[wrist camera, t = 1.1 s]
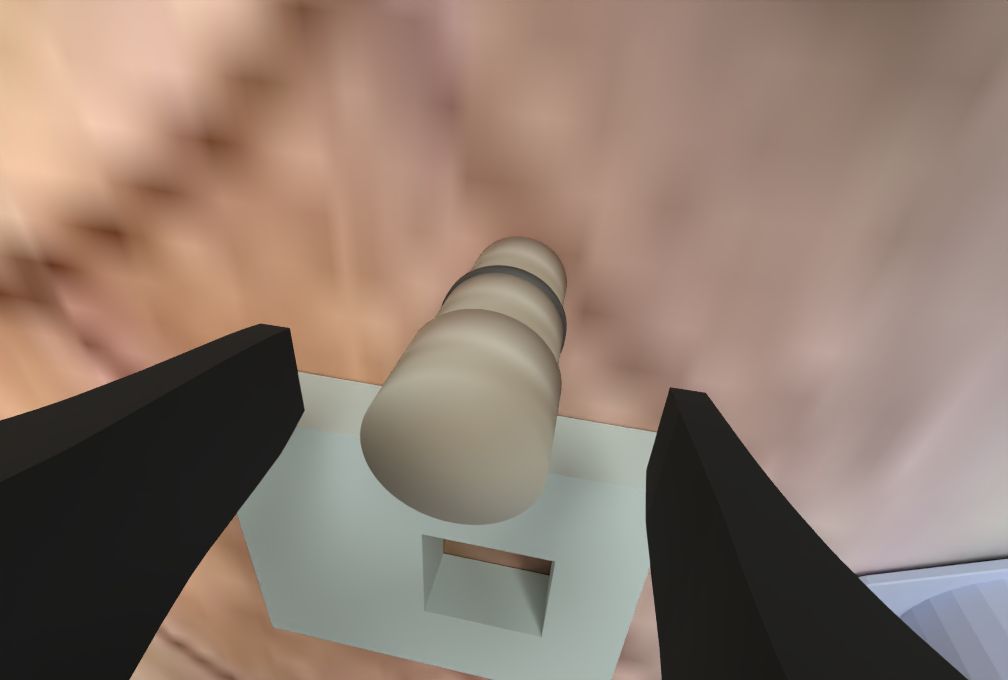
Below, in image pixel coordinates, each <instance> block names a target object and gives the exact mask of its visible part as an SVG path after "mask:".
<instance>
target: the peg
mask: <svg viewBox="0 0 1008 680" xmlns="http://www.w3.org/2000/svg"><path fill="white" fill-rule="evenodd" d="M566 287H567V279H566V273H565V269H564V267H563V264H562V262H561V261H560V259H559V258H558V256H557V255H556V254H555V253H554V252H553V251H552V250H551V249H550V248H549V247H547V246H546V245H544V244H543V243H541V242H539V241H537V240H534V239H531V238H527V237H508V238H504V239H501V240H498V241H496V242H494V243H493V244H491V245H490V246H488V247H487V248H486V249H485V250H484V251H483V253H482V254H481V255H480V257H479V259H478V260H477V262H476V264H475V265H474V267H473V269H472V270H471V272H469V273H467V274H465V275H464V276H463V277H461V278H460V279H459V280H458V281H457V282H456V283H455V284H454V285H453V286H452V288H451V289H450V291H449V292H448V294H447V296H446V297H445V299H444V301H443V304H442V307H441V309H440V311H439V312H438V314H437V316H436V317H435V318H434V319H432V320H431V321H429V322H428V323H426V324H425V325H424V326H423V327H422V328H421V329H420V330H419V331H418V333H417V334H416V335H415V337H414V338H413V340H412V341H411V343H410V344H409V346H408V347H407V349H406V351H405V352H404V354H403V355H402V357H401V358H400V360H399V361H398V363H397V364H396V366H395V368H394V369H393V371H392V372H391V374H390V375H389V377H388V378H387V380H386V381H385V383H384V385H383V386H382V388H381V389H380V391H379V392H378V394H377V395H376V397H375V398H374V400H373V401H372V403H371V405H370V406H369V408H368V409H367V411H366V413H365V415H364V417H363V420H362V424H361V430H360V443H361V448H362V453H363V455H364V458H365V461H366V463H367V465H368V466H369V468H370V470H371V472H372V473H373V474H374V476H375V477H376V479H377V480H378V481H379V482H380V483H381V484H382V486H383V487H384V488H385V489H386V490H388V491H389V492H390V493H391V494H392V495H393V496H394V497H396V498H397V499H398V500H400V501H401V502H403V503H404V504H406V505H407V506H409V507H411V508H413V509H414V510H416V511H418V512H420V513H423V514H425V515H427V516H430V517H433V518H436V519H439V520H442V521H447V522H451V523H457V524H464V525H487V524H493V523H498V522H502V521H506V520H509V519H511V518H514V517H516V516H518V515H520V514H521V513H523V512H525V511H526V510H527V509H529V508H530V507H531V506H532V505H533V504H534V503H535V502H536V501H537V500H538V498H539V497H540V495H541V494H542V492H543V490H544V487H545V485H546V481H547V476H548V470H549V464H550V458H551V452H552V445H553V439H554V433H555V426H556V420H557V414H558V408H559V401H560V395H561V384H562V381H561V373H560V369H559V366H558V363H559V357H560V353H561V351H562V349H563V346H564V341H565V336H566V326H567V324H566V316H565V312H564V309H563V302H564V297H565V292H566Z"/></svg>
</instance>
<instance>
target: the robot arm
mask: <svg viewBox="0 0 1008 680" xmlns="http://www.w3.org/2000/svg"><path fill="white" fill-rule="evenodd" d="M304 411H305V408H304V403H303V397H302V392H301V387H300V381H299V376H298V370H297V365H296V360H295V354H294V349H293V343H292V338H291V332H290V328H285V327H279V326H273V325H266V324H258V325H255V326H252V327H248V328H245V329H243V330H240V331H237V332H235V333H232V334H229V335H227V336H224V337H222V338H219V339H217V340H214V341H212V342H210V343H207V344H205V345H202V346H200V347H197V348H195V349H193V350H190V351H188V352H185V353H183V354H181V355H178V356H176V357H173V358H171V359H169V360H166V361H164V362H161V363H159V364H156V365H154V366H152V367H149V368H147V369H144V370H142V371H139V372H137V373H134V374H131V375H129V376H126V377H124V378H121V379H118V380H116V381H113V382H111V383H108V384H105V385H103V386H100V387H98V388H95V389H92V390H90V391H87V392H84V393H82V394H79V395H77V396H74V397H71V398H68V399H65V400H63V401H60V402H57V403H54V404H51V405H48V406H45V407H42V408H39V409H36V410H33V411H30V412H27V413H23V414H20V415H17V416H14V417H11V418H7V419H4V420H1V421H0V680H129V679H130V678H131V676H132V674H133V672H134V671H135V669H136V667H137V665H138V664H139V662H140V660H141V659H142V657H143V655H144V653H145V652H146V650H147V648H148V646H149V645H150V643H151V641H152V639H153V638H154V636H155V634H156V632H157V631H158V629H159V627H160V625H161V624H162V622H163V621H164V619H165V617H166V616H167V614H168V612H169V611H170V609H171V608H172V606H173V604H174V603H175V601H176V599H177V598H178V596H179V595H180V593H181V591H182V590H183V588H184V586H185V585H186V583H187V581H188V580H189V578H190V577H191V575H192V573H193V572H194V571H195V569H196V568H197V566H198V565H199V563H200V562H201V561H202V559H203V558H204V556H205V555H206V553H207V552H208V551H209V549H210V548H211V547H212V545H213V544H214V543H215V541H216V540H217V539H218V537H219V536H220V535H221V533H222V532H223V531H224V529H225V528H226V527H227V525H228V524H229V523H230V521H231V520H232V519H233V517H234V516H235V515H236V513H237V512H238V511H239V510H240V508H241V507H242V506H243V504H244V503H245V502H246V500H247V499H248V498H249V496H250V495H251V494H252V492H253V491H254V490H255V488H256V487H257V486H258V484H259V483H260V482H261V480H262V479H263V478H264V476H265V475H266V474H267V472H268V471H269V470H270V468H271V467H272V465H273V464H274V463H275V461H276V460H277V459H278V457H279V456H280V454H281V453H282V451H283V449H284V448H285V446H286V444H287V443H288V441H289V439H290V437H291V436H292V434H293V432H294V430H295V428H296V426H297V424H298V422H299V421H300V419H301V417H302V415H303V413H304ZM646 531H647V541H648V550H649V559H650V568H651V577H652V586H653V594H654V603H655V612H656V621H657V630H658V638H659V647H660V660H661V674H662V680H1008V559H1001V560H992V561H984V562H976V563H967V564H959V565H950V566H942V567H933V568H925V569H917V570H908V571H900V572H891V573H883V574H874V575H866V576H861V577H857V576H856V575H855V574H854V573H853V572H852V571H851V570H850V569H849V568H848V567H847V566H846V565H845V564H844V563H843V562H842V561H841V560H840V559H839V558H838V556H837V555H836V554H835V553H834V552H833V551H832V550H831V549H830V548H829V547H828V546H827V545H826V544H825V543H824V542H823V540H822V539H821V538H820V537H819V536H818V535H817V534H816V533H815V531H814V530H813V529H812V528H811V527H810V526H809V525H808V523H807V522H806V521H805V520H804V519H803V518H802V517H801V515H800V514H799V513H798V512H797V511H796V510H795V509H794V508H793V506H792V505H791V504H790V503H789V502H788V500H787V499H786V498H785V497H784V496H783V494H782V493H781V492H780V491H779V490H778V488H777V487H776V486H775V485H774V483H773V482H772V481H771V480H770V478H769V477H768V476H767V475H766V473H765V472H764V471H763V470H762V468H761V467H760V466H759V464H758V463H757V462H756V461H755V459H754V458H753V457H752V455H751V454H750V453H749V451H748V450H747V449H746V447H745V446H744V445H743V443H742V442H741V441H740V439H739V438H738V436H737V435H736V434H735V432H734V431H733V430H732V428H731V427H730V425H729V424H728V423H727V421H726V420H725V419H724V417H723V416H722V414H721V413H720V412H719V410H718V409H717V408H716V406H715V405H714V403H713V402H712V401H711V399H710V398H709V397H708V395H707V394H706V393H703V392H697V391H690V390H684V389H677V388H671V387H670V389H669V393H668V396H667V400H666V403H665V407H664V410H663V414H662V417H661V421H660V424H659V427H658V431H657V434H656V438H655V441H654V445H653V448H652V452H651V455H650V459H649V462H648V465H647V469H646Z"/></svg>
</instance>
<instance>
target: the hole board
mask: <svg viewBox="0 0 1008 680" xmlns="http://www.w3.org/2000/svg"><path fill="white" fill-rule="evenodd" d="M298 376H299V381H300V387H301V392H302V397H303V403H304V408H305V411H304V413H303V415H302V417H301V419H300V421H299V422H298V424H297V426H296V428H295V430H294V432H293V434H292V436H291V437H290V439H289V441H288V443H287V444H286V446H285V448H284V449H283V451H282V453H281V454H280V456H279V457H278V459H277V460H276V461H275V463H274V464H273V465H272V467H271V468H270V470H269V471H268V472H267V474H266V475H265V476H264V478H263V479H262V480H261V482H260V483H259V484H258V486H257V487H256V488H255V490H254V491H253V492H252V494H251V495H250V496H249V498H248V499H247V500H246V502H245V503H244V504H243V506H242V507H241V508H240V510H239V511H238V512H237V515H238V518H239V521H240V525H241V528H242V531H243V534H244V537H245V541H246V544H247V547H248V550H249V553H250V557H251V560H252V563H253V566H254V569H255V572H256V576H257V579H258V582H259V585H260V588H261V592H262V595H263V598H264V601H265V604H266V607H267V611H268V614H269V617H270V620H271V623H272V627H273V628H278V629H282V630H286V631H290V632H294V633H299V634H303V635H307V636H311V637H316V638H320V639H324V640H328V641H332V642H337V643H341V644H345V645H349V646H354V647H358V648H362V649H366V650H370V651H375V652H379V653H383V654H387V655H391V656H396V657H400V658H404V659H408V660H413V661H417V662H421V663H425V664H429V665H434V666H438V667H442V668H446V669H451V670H455V671H459V672H463V673H467V674H472V675H476V676H480V677H484V678H488V679H493V680H611V679H612V676H613V673H614V670H615V667H616V665H617V662H618V659H619V656H620V653H621V650H622V647H623V644H624V641H625V638H626V635H627V632H628V629H629V626H630V623H631V620H632V618H633V615H634V612H635V609H636V606H637V603H638V600H639V597H640V594H641V591H642V588H643V585H644V582H645V579H646V576H647V573H648V571H649V568H650V559H649V550H648V541H647V531H646V469H647V465H648V462H649V459H650V455H651V452H652V448H653V445H654V441H655V438H656V434H657V433H656V432H650V431H644V430H638V429H632V428H627V427H621V426H615V425H609V424H603V423H597V422H591V421H585V420H579V419H573V418H568V417H562V416H557V420H556V426H555V433H554V439H553V445H552V452H551V458H550V464H549V470H548V476H547V481H546V485H545V487H544V490H543V492H542V494H541V495H540V497H539V498H538V500H537V501H536V502H535V503H534V504H533V505H532V506H531V507H530V508H529V509H527V510H526V511H525V512H523V513H521V514H520V515H518V516H516V517H514V518H511V519H509V520H506V521H502V522H498V523H493V524H487V525H464V524H457V523H451V522H447V521H442V520H439V519H436V518H433V517H430V516H427V515H425V514H423V513H420V512H418V511H416V510H414V509H413V508H411V507H409V506H407V505H406V504H404V503H403V502H401V501H400V500H398V499H397V498H396V497H394V496H393V495H392V494H391V493H390V492H389V491H388V490H386V489H385V488H384V487H383V486H382V484H381V483H380V482H379V481H378V480H377V479H376V477H375V476H374V474H373V473H372V472H371V470H370V468H369V466H368V465H367V463H366V461H365V458H364V455H363V453H362V448H361V443H360V430H361V424H362V420H363V417H364V415H365V413H366V411H367V409H368V408H369V406H370V405H371V403H372V401H373V400H374V398H375V397H376V395H377V394H378V392H379V391H380V389H381V388H382V386H379V385H373V384H367V383H361V382H355V381H349V380H343V379H338V378H332V377H326V376H320V375H314V374H308V373H302V372H298ZM443 539H447V540H452V541H457V542H462V543H467V544H472V545H477V546H482V547H486V548H491V549H496V550H501V551H506V552H511V553H516V554H521V555H525V556H530V557H535V558H540V559H545V560H550V561H552V564H551V570H550V575H545V574H540V573H535V572H530V571H525V570H521V569H516V568H511V567H506V566H501V565H497V564H492V563H487V562H482V561H478V560H473V559H468V558H463V557H458V556H454V555H449V554H444V553H443Z"/></svg>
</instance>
